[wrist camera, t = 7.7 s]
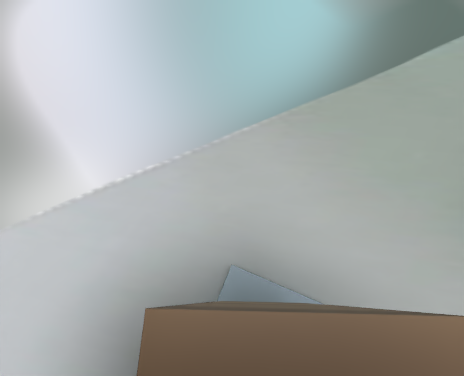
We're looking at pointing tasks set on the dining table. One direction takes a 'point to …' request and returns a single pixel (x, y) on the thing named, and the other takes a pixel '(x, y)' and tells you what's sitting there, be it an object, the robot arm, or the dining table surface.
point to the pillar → (298, 341)
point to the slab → (257, 289)
